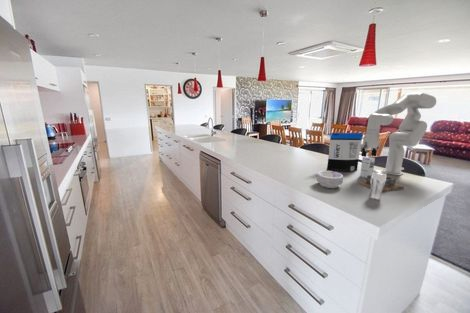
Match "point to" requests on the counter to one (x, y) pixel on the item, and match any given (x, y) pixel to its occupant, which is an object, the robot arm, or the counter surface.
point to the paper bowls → (329, 179)
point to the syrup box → (367, 166)
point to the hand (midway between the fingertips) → (368, 156)
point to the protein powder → (344, 152)
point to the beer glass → (377, 184)
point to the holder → (388, 186)
